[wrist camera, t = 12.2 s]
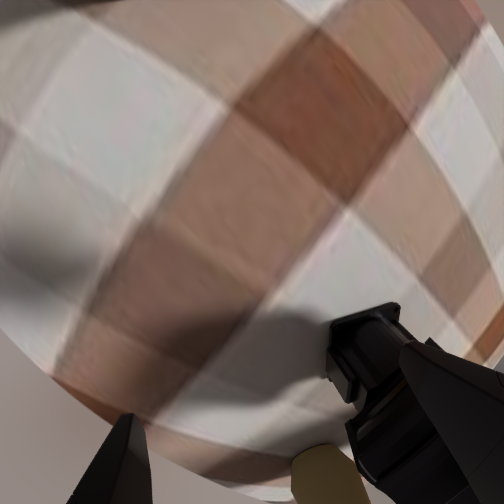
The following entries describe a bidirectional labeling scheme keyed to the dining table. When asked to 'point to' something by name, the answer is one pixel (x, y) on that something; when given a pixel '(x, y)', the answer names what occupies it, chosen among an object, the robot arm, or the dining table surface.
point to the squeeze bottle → (326, 478)
